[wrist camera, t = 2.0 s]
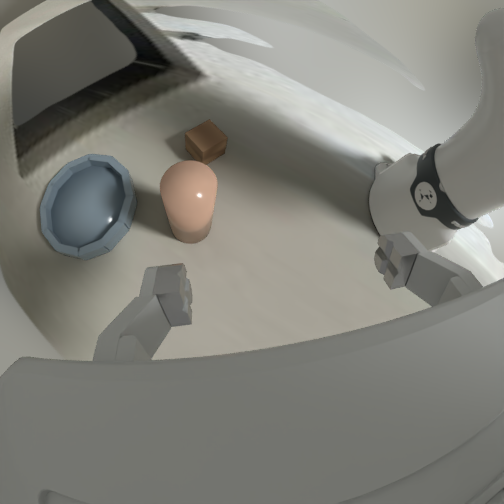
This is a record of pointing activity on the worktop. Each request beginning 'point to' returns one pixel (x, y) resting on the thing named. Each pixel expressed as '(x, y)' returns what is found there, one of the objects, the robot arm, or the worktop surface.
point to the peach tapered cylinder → (189, 199)
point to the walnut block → (205, 142)
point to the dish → (88, 206)
